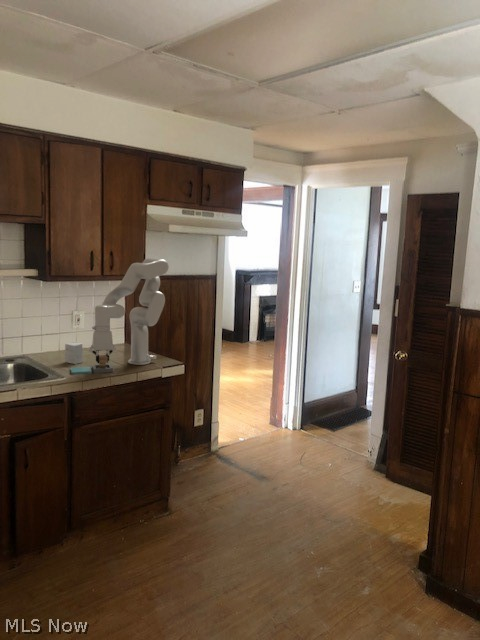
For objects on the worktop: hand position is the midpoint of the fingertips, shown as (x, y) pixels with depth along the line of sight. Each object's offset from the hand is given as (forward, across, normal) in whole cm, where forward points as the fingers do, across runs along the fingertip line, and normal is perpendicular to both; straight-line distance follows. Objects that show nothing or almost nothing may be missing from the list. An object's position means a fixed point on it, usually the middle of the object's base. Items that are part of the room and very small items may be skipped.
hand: (102, 362), depth 281 cm
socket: (+4, 0, 0) cm, 4 cm away
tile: (+4, -11, 0) cm, 12 cm away
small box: (+5, -13, +20) cm, 25 cm away
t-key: (+4, 0, 0) cm, 4 cm away
